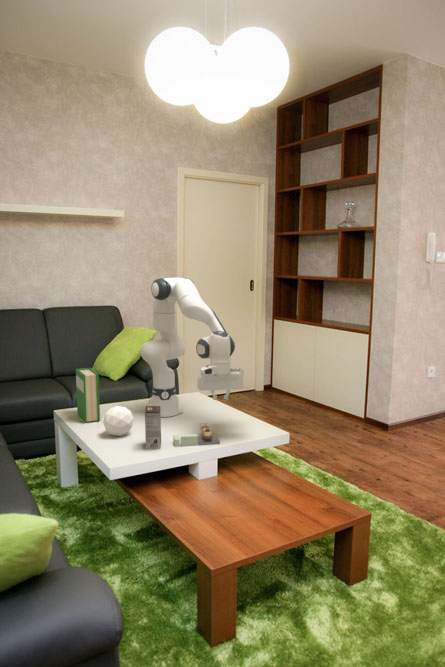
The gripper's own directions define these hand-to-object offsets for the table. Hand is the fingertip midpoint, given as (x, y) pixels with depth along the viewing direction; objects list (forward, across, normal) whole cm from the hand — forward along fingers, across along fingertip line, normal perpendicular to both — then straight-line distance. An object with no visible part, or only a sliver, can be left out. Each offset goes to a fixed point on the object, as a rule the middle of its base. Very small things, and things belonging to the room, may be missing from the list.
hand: (220, 399), depth 233 cm
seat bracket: (+17, +16, +6) cm, 24 cm away
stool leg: (+16, +6, -1) cm, 17 cm away
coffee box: (+17, +30, +6) cm, 35 cm away
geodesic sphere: (+17, +44, -13) cm, 49 cm away
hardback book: (+17, +60, -43) cm, 75 cm away
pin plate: (+17, +6, +4) cm, 19 cm away
